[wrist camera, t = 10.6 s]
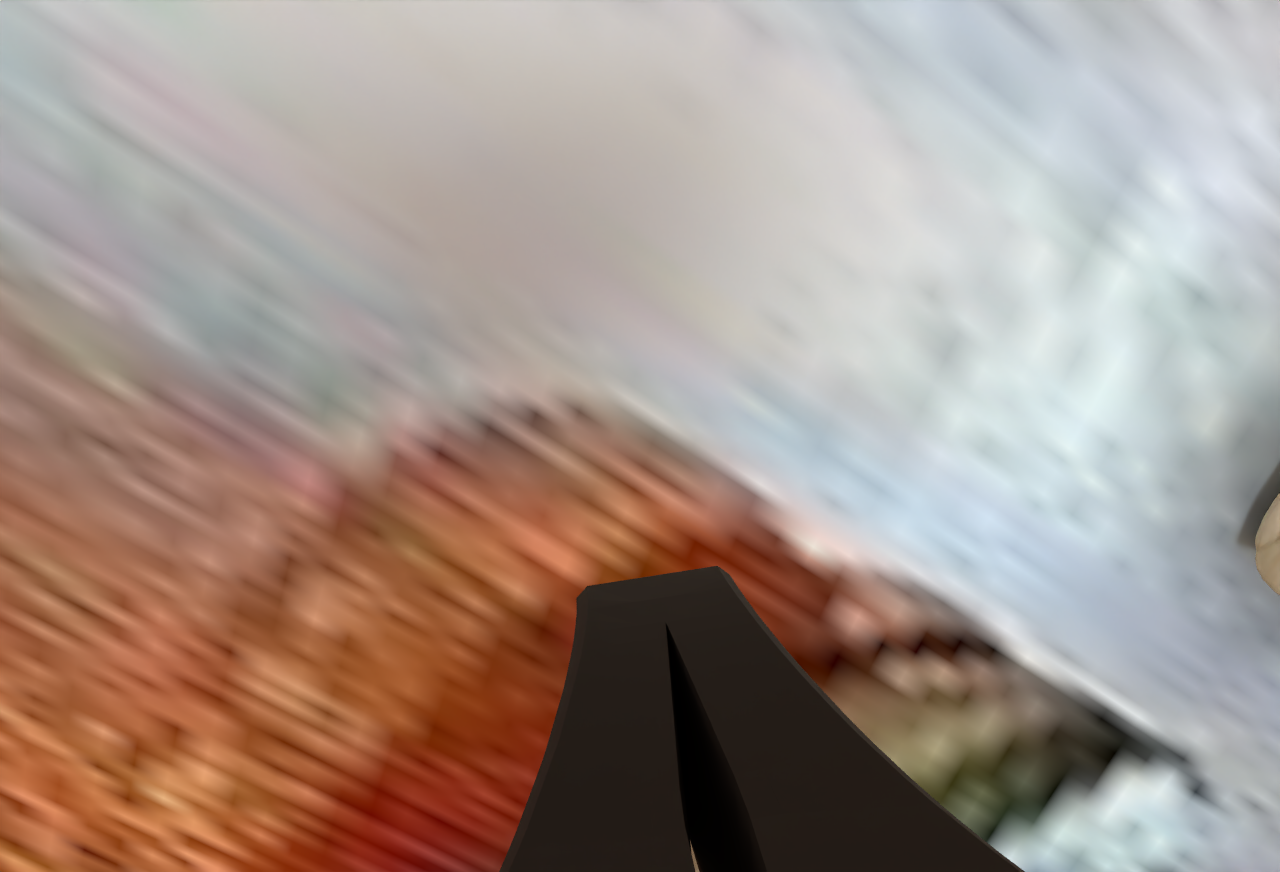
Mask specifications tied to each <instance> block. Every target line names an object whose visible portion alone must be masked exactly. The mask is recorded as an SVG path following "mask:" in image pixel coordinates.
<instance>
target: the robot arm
mask: <svg viewBox="0 0 1280 872" xmlns="http://www.w3.org/2000/svg"><path fill="white" fill-rule="evenodd" d="M690 841H691V844H692V848H693V851H694V854H695V858H696V861H697V865H698V868H699V871H700V872H1024V871H1023V870H1022V869H1020V868H1019V867H1018V866H1016V865H1015V864H1014V863H1012V862H1011V861H1010V860H1008V859H1007V858H1006V857H1005V856H1003V855H1002V854H1001V853H999V852H998V851H997V850H995V849H994V848H993V847H992V846H990V845H989V844H988V843H987V842H985V841H984V840H983V839H982V838H981V837H979V836H978V835H977V834H976V833H974V832H973V831H972V830H971V829H969V828H968V827H967V826H966V825H964V824H963V823H962V822H961V821H959V820H958V819H957V818H956V817H955V816H953V815H952V814H951V813H950V812H949V811H947V810H946V809H945V808H944V807H943V806H942V805H940V804H939V803H938V802H937V801H936V800H935V799H934V798H932V797H931V796H930V795H929V794H928V793H927V792H926V791H924V790H923V789H922V788H921V787H920V786H919V785H918V784H917V783H916V782H914V781H913V780H912V779H911V778H910V777H909V776H908V775H907V774H906V773H905V772H903V771H902V770H901V769H900V768H899V767H898V766H897V765H896V764H895V763H894V762H893V761H892V760H891V759H890V758H889V757H888V756H887V755H885V754H884V753H883V752H882V751H881V750H880V749H879V748H878V747H877V746H876V745H875V744H874V743H873V742H872V741H871V740H870V739H869V738H868V737H867V736H866V735H865V734H864V733H863V732H862V731H861V730H860V729H859V728H858V727H857V726H856V725H855V724H854V723H853V722H852V721H851V720H850V719H849V718H848V717H847V716H846V715H845V714H844V713H843V712H842V711H841V710H840V709H839V708H838V707H837V706H836V704H835V703H834V702H833V701H832V700H831V699H830V698H829V697H828V696H827V695H826V694H825V693H824V692H823V690H822V689H821V688H820V687H819V686H818V685H817V684H816V683H815V682H814V681H813V680H812V679H811V678H810V677H809V675H808V674H807V673H806V672H805V671H804V670H803V669H802V668H801V666H800V665H799V664H798V663H797V662H796V661H795V660H794V658H793V657H792V656H791V655H790V654H789V653H788V651H787V650H786V649H785V648H784V647H783V645H782V644H781V643H780V642H779V641H778V639H777V638H776V637H775V636H774V634H773V633H772V632H771V631H770V630H769V628H768V627H767V626H766V625H765V623H764V622H763V621H762V620H761V618H760V617H759V616H758V614H757V613H756V612H755V610H754V609H753V608H752V606H751V605H750V604H749V602H748V601H747V600H746V598H745V597H744V595H743V594H742V593H741V591H740V590H739V588H738V587H737V585H736V584H735V582H734V581H733V579H732V578H731V576H730V575H729V574H728V573H727V572H725V571H724V570H722V569H721V568H720V567H718V566H714V567H707V568H701V569H694V570H688V571H682V572H675V573H669V574H662V575H656V576H650V577H643V578H637V579H630V580H624V581H618V582H611V583H605V584H598V585H592V586H587V587H586V588H585V589H584V591H583V592H582V593H581V594H580V595H579V596H578V597H577V617H576V627H575V635H574V642H573V648H572V653H571V658H570V663H569V667H568V672H567V676H566V681H565V685H564V689H563V693H562V697H561V700H560V704H559V707H558V710H557V714H556V717H555V721H554V724H553V728H552V731H551V735H550V738H549V742H548V745H547V748H546V752H545V755H544V758H543V761H542V764H541V767H540V769H539V772H538V775H537V777H536V780H535V783H534V785H533V788H532V791H531V793H530V796H529V799H528V802H527V804H526V807H525V810H524V812H523V815H522V818H521V820H520V823H519V826H518V828H517V831H516V834H515V836H514V839H513V841H512V843H511V846H510V848H509V850H508V853H507V855H506V857H505V860H504V862H503V865H502V867H501V869H500V871H499V872H695V868H694V864H693V859H692V855H691V845H690Z"/></svg>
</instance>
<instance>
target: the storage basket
mask: <svg viewBox="0 0 1280 872" xmlns="http://www.w3.org/2000/svg"><path fill="white" fill-rule="evenodd" d="M1255 546H1256V550H1257V551H1256V557H1255V560H1256V565H1257V570H1258V572H1259V573H1260V575H1261V577H1262V579H1263V580H1264V581H1265V582H1266V583H1267V584H1268V585H1269V586H1270V587H1271V588H1272V589H1273V590H1274V591H1275V592H1276V593H1277V594H1279V595H1280V493H1279V494H1278V495H1277V497H1276V498H1275V499H1274V501H1273V503H1272V504H1271V506H1270V507H1269V509H1268V511H1267V512H1266V514H1265V516H1264V518H1263V520H1262V522H1261V525H1260V527H1259V529H1258V532H1257V534H1256V539H1255Z"/></svg>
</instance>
